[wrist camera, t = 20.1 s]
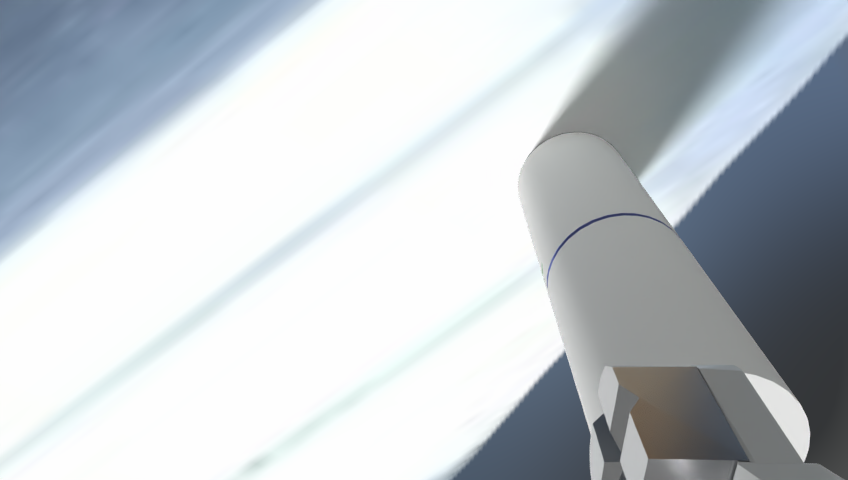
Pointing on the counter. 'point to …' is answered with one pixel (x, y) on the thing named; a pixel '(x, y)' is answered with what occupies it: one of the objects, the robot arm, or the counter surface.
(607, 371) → the robot arm
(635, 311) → the cylindrical container
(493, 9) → the counter surface
